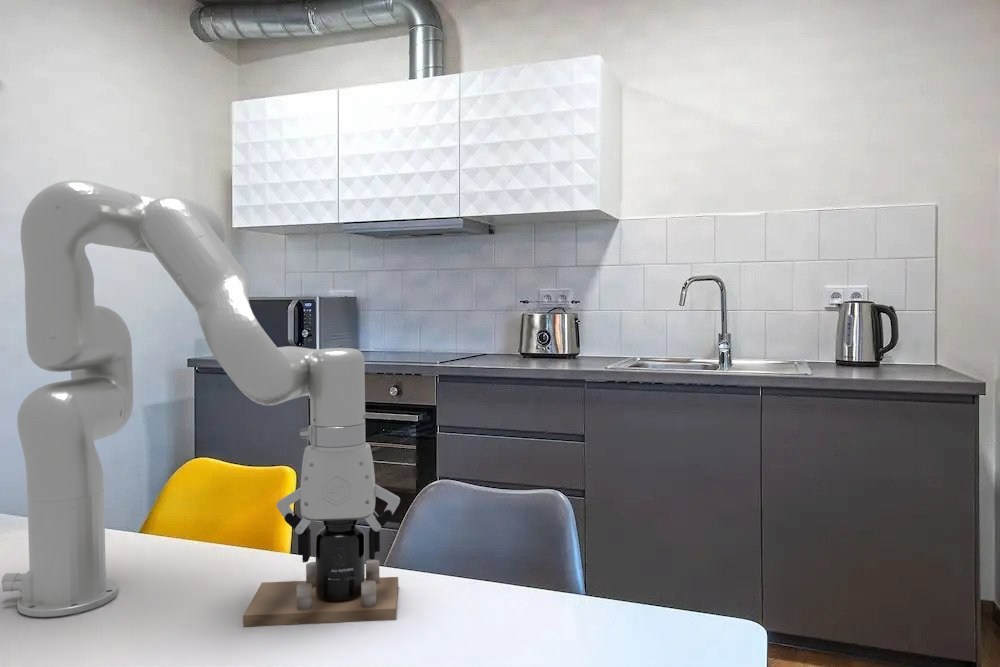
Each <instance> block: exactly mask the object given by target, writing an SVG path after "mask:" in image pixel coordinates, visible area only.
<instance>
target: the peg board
mask: <svg viewBox="0 0 1000 667" xmlns="http://www.w3.org/2000/svg"><path fill="white" fill-rule="evenodd" d="M315 584H316V561H311V562H306V564H305V580H293V581H291V580H289V581H288V580H287V581H286V580H285V581H265V582H261V583H260V585H259V587H258V588H257V590H256V591H255V594H254V595H253V597H252V599H251V601H250V603H249V604H248V606H247V607H246V610H245V611H244V613H243V615H242V627H244V628H245V627H263V626H264V627H265V626H283V625H284V626H286V625H287V626H288V625H289V626H290V625H307V624H308V625H309V624H327V623H328V624H329V623H345V622H346V623H348V622H367V621H368V622H369V621H373V622H374V621H391V620H393V621H394V620H397V609H398V597H399V594H398V593H399V576H385V577H380V560H378V559H374V560H371V559H368V560H365V581H364V582H362V583H361V596H359V597H358V598H356V599H353V600H350V601H344V602H329V601H324V600H321V599H320V598H318V596H317V595H316V585H315Z"/></svg>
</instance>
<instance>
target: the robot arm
mask: <svg viewBox="0 0 1000 667" xmlns="http://www.w3.org/2000/svg"><path fill="white" fill-rule="evenodd" d="M225 240H226V229H225V226H224V223H223V221H222V219H221V217H220V216H219V215H218V213H216V212H215V211H214V210H213V209H212V208H210V207H208V206H207V205H205V204H201V203H198V202H195V201H193V200H189V199H186V198H182V197H179V196H178V197H176V196H164V197H163V196H162V197H159V198H157V197H152V196H148V195H142V194H136V193H132V192H128V191H125V190H122V189H117V188H114V187H113V186H112V187H111V186H109V185H105V184H101V183H97V182H93V181H89V180H79V179H77V180H76V179H73V180H72V179H70V180H64V181H59V182H55V183H53V184H51V185H48V186H47V187H45V188H44V189H42V190H41V191H39V192H38V193H37V194H36V195H35V196H34V197H33V198H32V199H31V201H30V202H29V203H28V205H27V206H26V208H25V211H24V212H23V216H22V218H21V224H20V244H21V254H22V263H23V270H24V302H25V303H24V306H25V307H24V308H25V309H24V310H25V337H26V340H25V341H26V347H27V353H28V355H29V358H30V360H31V362H32V363H33V364H34V365H35V366H37V367H38V368H39V369H42V370H43V371H49V372H52V373H53V372H54V373H55V372H57V373H59V372H61V373H63V372H64V373H65V372H70V379H66V380H62V381H56V382H52V383H49V384H48V383H47V384H45V385H42V386H41V387H38V388H36V389H35V390H33V391H32V392H31V393H29V394H28V395H27V396H26V397H25V398H24V399H23V401H22V403H21V404H20V407H19V408H18V413H17V418H16V420H17V421H16V422H17V423H16V426H17V433H18V436H19V440H20V444H21V447H22V453H23V457H24V458H23V459H24V464H25V465H24V466H25V476H26V498H27V525H28V526H27V528H28V529H27V530H28V533H27V534H28V562H29V566H28V571H27V572H25V573H20V572H15V573H14V572H13V573H11V572H8V573H4V574H3V576H2V579H1V591H2V592H4V593H5V592H14V591H16V592H17V591H19V592H20V593H21V596H20V597H19V598H18V600H17V601H16V602H17V603H16V606H17V611H18V612H19V613H20V614H21V615H25V616H27V617H33V618H52V617H53V618H55V617H63V616H64V617H65V616H68V615H74V614H79V613H83V612H86V611H90V610H93V609H96V608H98V607H101V606H103V605H105V604H107V603H109V602H111V601H112V600H113V599H114V598H115V597H117V595H118V593H119V585H118V584H119V583H117V581H116V580H113V579H110V578H107V567H106V564H107V563H106V527H105V525H106V524H105V521H106V520H105V488H104V485H105V484H104V482H105V481H104V471H103V465H102V461H101V460H100V455H99V453H98V452H97V448H96V445H95V441H98V440H101V439H103V438H104V439H105V438H106V437H109V436H112V435H115V434H117V433H118V432H119V431H121V430H122V429H124V427H125V426H126V425H127V424H128V422H129V420H130V418H131V415H132V412H133V406H134V381H133V380H134V379H133V373H134V372H133V350H132V345H133V344H132V337H131V334H130V331H129V328H128V325H127V323H126V322H125V320H124V319H123V318H122V316H120V315H119V313H117V312H116V311H115V310H113V309H111V308H108V307H106V306H103V305H96V302H95V292H94V291H95V278H94V272H93V268H92V265H91V263H90V260H89V257H88V256H87V253H86V250H85V249H86V246H88V245H89V244H93V245H99V246H107V247H112V248H120V249H126V250H132V251H133V250H134V251H139V252H145V253H149V254H153V256H154V257H155V258H156V259H157V261H158V262H159V263H160V264H161V266H162V267H163V268H164V270H165V271H166V272H167V273H168V275H169V276H170V277H171V279H172V280H173V281H174V282H175V284H176V286H177V287H178V288H179V289H180V290H181V291H182V294H183V295H184V296H185V298H187V301H189V303H190V304H191V306H192V307H193V308H194V311H196V314H197V318H198V322H199V325H200V328H201V330H202V333H203V336H204V338H205V341H206V343H207V346H208V348H209V350H210V352H211V354H212V355H213V356H214V358H215V359H216V361H217V363H218V364H219V365H220V366H221V369H223V371H224V372H225V373H226V375H227V376H228V377H229V378H230V380H231V381H232V382H233V384H234V385H235V386H236V387H237V388H238V389H239V391H240V392H241V393H242V394H243V395H245V396H246V397H247V398H248V399H249V400H251V401H252V402H255V403H256V404H259V405H261V406H277V405H279V404H282V403H285V402H287V401H291V400H295V399H298V398H302V397H307V396H309V398H310V400H309V404H310V405H309V406H310V409H309V410H310V414H309V415H310V419H309V420H310V425H309V426H308V427H305V428H300V430H299V438H300V439H306V440H308V441H309V445H307V446H306V447H305V448H304V452H303V455H302V456H303V458H302V464H301V476H300V478H301V479H300V487H299V488H297V489H296V490H294V491H292V492H291V493H289V494H287V495H286V496H284V497H282V498H281V499H279V500H278V501H277V503H276V508H277V510H278V511H279V513H280V514H281V516H282V517H283V519H284V521H285V523H287V524H288V525H289V526H290V527H291V528H292V529H293V530H294V532H295V533H296V534H297V555H298V556H299V555H301V556H302V557H301V558H302V563H308V562H309V560H310V558H311V554H312V553H311V550H312V547H311V546H312V541H311V540H312V539H311V529H310V527H309V525H310V524H311V523H312V522H313V521H314V522H315V521H316V522H321V521H322V522H323V521H327V520H355V519H358V520H363V519H364V520H365V521H366V523H367V524H368V525H369V526H370V527H369V531H368V560H376V559H375V557H376V552H377V553H379V552H380V551H381V529H382V528H383V527H384V526H385V525H386V524H387V523H388V522H389V521H390V520H391V519H392V517H393V515H394V513H395V512H396V510H397V508H398V507H399V505H400V503H401V498H400V496H398V495H396V494H394V493H393V492H391V491H389V490H387V489H386V488H383V487H382V486H380V485H378V484H377V483H376V476H375V466H374V460H373V459H374V458H373V454H372V449H371V445H370V444H369V443H368V442H366V380H365V379H366V376H365V373H366V372H365V371H366V370H365V368H366V364H365V356H364V353H363V352H362V351H361V350H360V349H356V348H349V347H333V348H332V347H330V348H329V347H328V348H327V347H326V348H319V349H316V348H308V347H301V346H294V345H293V346H292V345H291V346H289V345H288V346H279V347H278V346H276V344H275V343H274V341H273V340H272V339H271V338H270V336H269V335H268V334H267V333H266V331H265V329H264V328H263V327H262V326H261V324H260V322H259V321H258V319H257V318H256V316H255V314H254V312H253V310H252V307H251V304H250V300H249V293H250V288H251V286H250V285H251V281H250V277H249V275H248V274H247V271H245V269H244V267H242V266H241V264H240V263H239V262H238V261H237V259H236V258H235V257H234V255H233V254H232V252H231V251H230V250H229V249H228V248H227V246H226V245H225ZM376 498H378V499H380V500H382V501H384V502H386V503H387V505H386V507H385V509H384V510H383V511H381V513H380V514H379V515H378V513H377V512H376V511H375V508H376V500H377V499H376ZM297 501H300V503H299V506H300V514H301V515H300V516H301V517H300V516H299V515H297V513H295V512H294V511H293V510H292V508H291V505H292V504H294V503H296V502H297Z"/></svg>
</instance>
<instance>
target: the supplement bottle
mask: <svg viewBox="0 0 1000 667" xmlns="http://www.w3.org/2000/svg"><path fill="white" fill-rule="evenodd" d="M358 523H359V519H355V520H327V521H322V525H323V526H324V527H323V528H321V529H320V530H319V531H317V533H316V536H315V562H316V584H315V585H316V595H317V596H318V598H320V599H321V600H324V601H329V602H344V601H350V600H353V599H356V598H358V597H359V596H361V583H362V582H364V581H365V578H366V560H365V558H366V557H365V556H366V555H365V554H366V547H365V546H366V544H365V543H366V536H365V532H364V531H363V530H364V529H362V528H361V527H360V526H358V525H357V524H358Z"/></svg>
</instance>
